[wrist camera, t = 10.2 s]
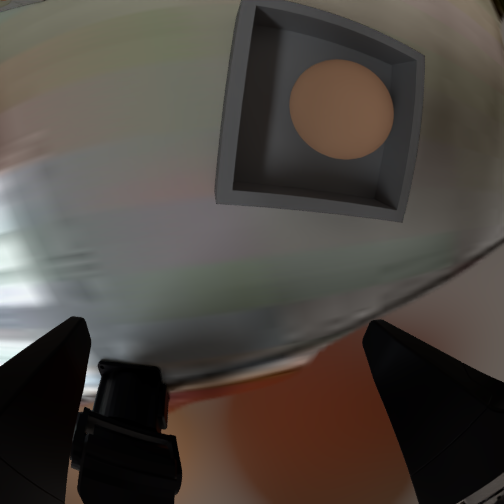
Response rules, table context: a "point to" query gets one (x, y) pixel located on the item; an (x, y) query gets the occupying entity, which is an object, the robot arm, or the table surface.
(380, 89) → the ball
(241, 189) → the grey open square tray
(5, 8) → the coffee box
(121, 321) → the table surface
